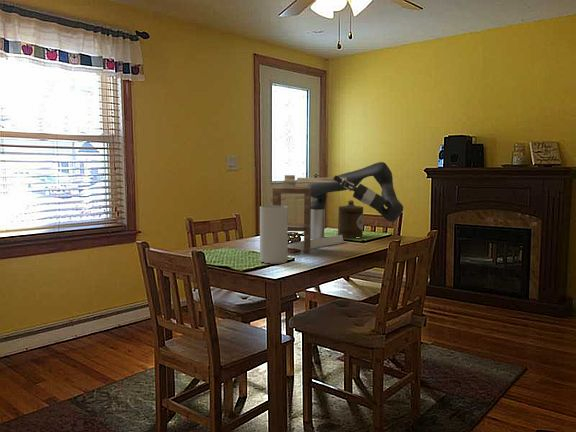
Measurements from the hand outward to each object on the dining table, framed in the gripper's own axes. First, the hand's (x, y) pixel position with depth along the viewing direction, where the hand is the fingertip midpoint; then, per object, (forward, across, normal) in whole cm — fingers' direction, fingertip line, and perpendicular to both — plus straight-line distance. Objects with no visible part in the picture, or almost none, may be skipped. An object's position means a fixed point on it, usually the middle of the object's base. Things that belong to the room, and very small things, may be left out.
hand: (334, 177), depth 252 cm
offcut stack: (+17, -8, +16) cm, 25 cm away
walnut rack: (0, -3, +43) cm, 43 cm away
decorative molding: (-11, -22, +38) cm, 45 cm away
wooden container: (-27, -53, +28) cm, 66 cm away
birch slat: (+4, 0, +5) cm, 7 cm away
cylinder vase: (+5, +26, +46) cm, 53 cm away
